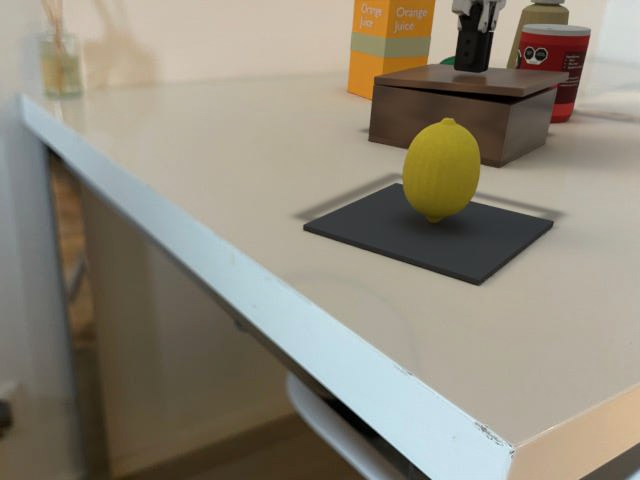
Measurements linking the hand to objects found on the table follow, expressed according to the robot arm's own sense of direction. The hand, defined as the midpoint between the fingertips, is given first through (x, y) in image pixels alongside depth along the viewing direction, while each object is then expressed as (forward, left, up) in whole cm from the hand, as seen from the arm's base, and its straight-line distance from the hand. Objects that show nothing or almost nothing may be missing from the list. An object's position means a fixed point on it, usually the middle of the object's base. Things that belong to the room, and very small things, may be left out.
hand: (470, 70), depth 71 cm
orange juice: (+20, -18, -8) cm, 28 cm away
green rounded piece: (+21, -43, -8) cm, 48 cm away
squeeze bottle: (+5, -36, -8) cm, 37 cm away
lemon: (-10, +26, -8) cm, 29 cm away
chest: (0, 0, -8) cm, 8 cm away
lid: (0, 0, -1) cm, 1 cm away
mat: (-10, +26, -8) cm, 29 cm away
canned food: (-2, -20, -8) cm, 21 cm away
